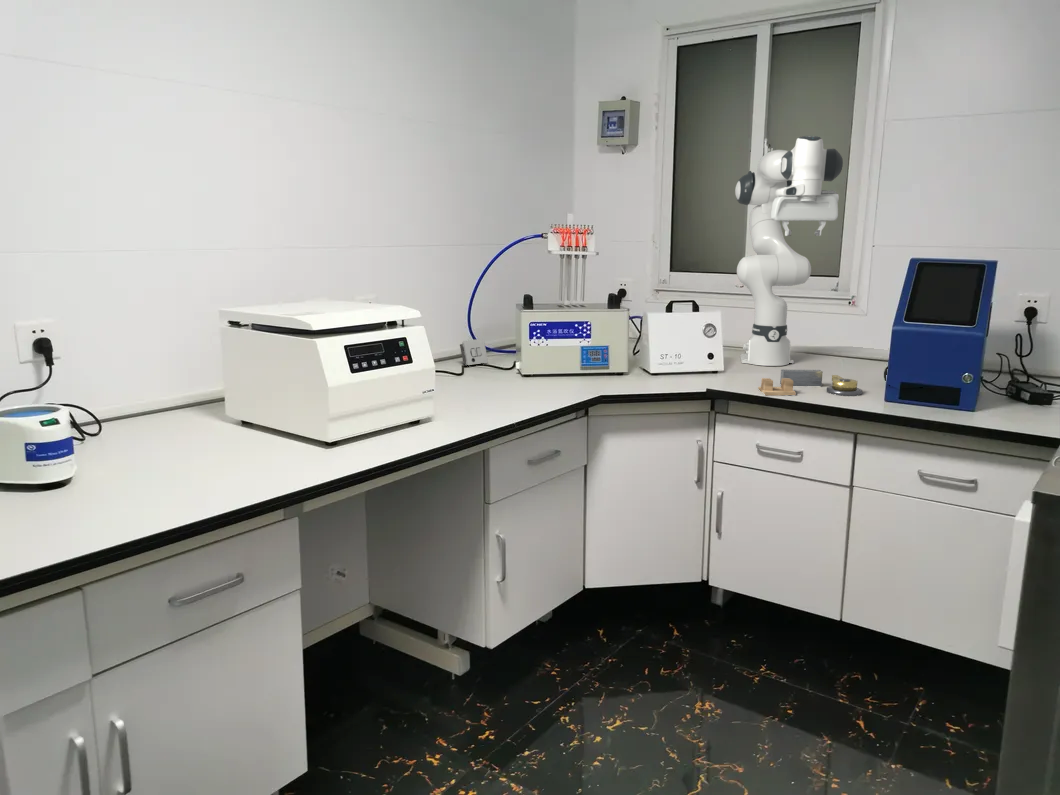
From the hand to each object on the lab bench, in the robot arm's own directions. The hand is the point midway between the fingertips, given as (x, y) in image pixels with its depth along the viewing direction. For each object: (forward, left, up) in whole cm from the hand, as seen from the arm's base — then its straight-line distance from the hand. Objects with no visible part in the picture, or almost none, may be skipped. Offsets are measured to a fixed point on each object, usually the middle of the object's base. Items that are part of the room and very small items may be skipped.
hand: (802, 235), depth 248 cm
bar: (+9, 0, -46) cm, 47 cm away
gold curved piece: (+16, +10, -45) cm, 49 cm away
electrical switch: (-25, -107, -46) cm, 119 cm away
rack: (+20, -10, -46) cm, 51 cm away
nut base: (+19, +10, -46) cm, 51 cm away
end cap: (+9, +32, -46) cm, 57 cm away
